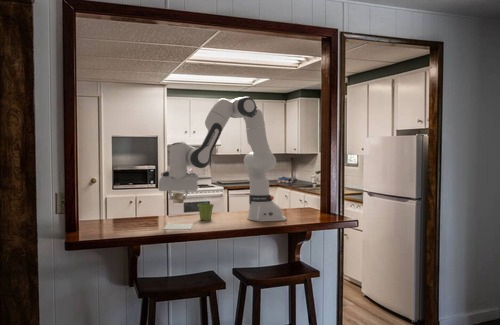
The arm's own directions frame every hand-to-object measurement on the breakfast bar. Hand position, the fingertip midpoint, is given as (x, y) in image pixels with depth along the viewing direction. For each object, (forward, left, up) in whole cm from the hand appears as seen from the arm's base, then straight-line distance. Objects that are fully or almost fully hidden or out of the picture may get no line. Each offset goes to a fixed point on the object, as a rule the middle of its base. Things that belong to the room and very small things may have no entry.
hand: (178, 199), depth 222 cm
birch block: (0, 0, -2) cm, 2 cm away
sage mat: (0, 0, -14) cm, 14 cm away
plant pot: (-13, -21, -15) cm, 29 cm away
